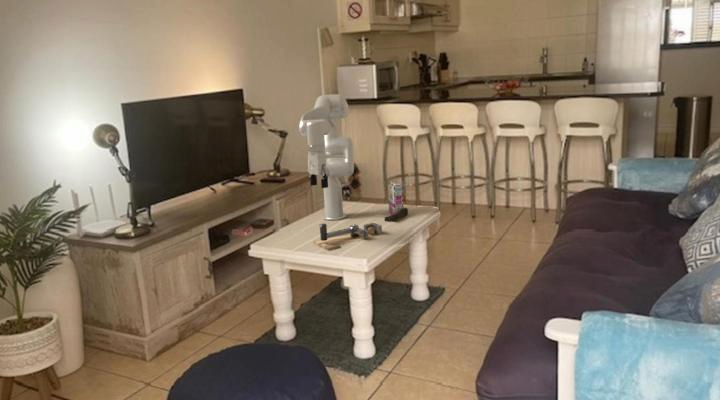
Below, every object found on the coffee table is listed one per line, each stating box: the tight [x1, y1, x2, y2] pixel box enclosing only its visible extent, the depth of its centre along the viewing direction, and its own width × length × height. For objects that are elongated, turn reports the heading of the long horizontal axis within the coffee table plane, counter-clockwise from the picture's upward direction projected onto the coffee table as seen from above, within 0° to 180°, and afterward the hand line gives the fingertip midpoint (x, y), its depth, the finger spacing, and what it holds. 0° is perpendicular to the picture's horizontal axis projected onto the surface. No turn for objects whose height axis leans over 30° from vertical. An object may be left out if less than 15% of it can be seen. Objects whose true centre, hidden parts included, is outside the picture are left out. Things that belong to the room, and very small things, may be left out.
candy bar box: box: [387, 181, 404, 215], centre depth 309 cm, size 11×5×16 cm, turn 14°
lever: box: [319, 223, 369, 241], centre depth 264 cm, size 10×20×8 cm, turn 122°
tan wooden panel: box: [313, 222, 384, 251], centre depth 270 cm, size 13×30×5 cm, turn 122°
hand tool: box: [384, 207, 409, 223], centre depth 300 cm, size 19×4×5 cm, turn 141°
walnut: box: [367, 227, 375, 235], centre depth 272 cm, size 4×4×4 cm
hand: (319, 186), depth 267 cm, fingers open, 9 cm apart
